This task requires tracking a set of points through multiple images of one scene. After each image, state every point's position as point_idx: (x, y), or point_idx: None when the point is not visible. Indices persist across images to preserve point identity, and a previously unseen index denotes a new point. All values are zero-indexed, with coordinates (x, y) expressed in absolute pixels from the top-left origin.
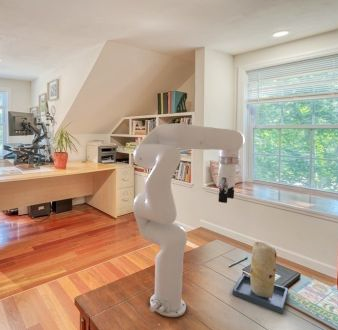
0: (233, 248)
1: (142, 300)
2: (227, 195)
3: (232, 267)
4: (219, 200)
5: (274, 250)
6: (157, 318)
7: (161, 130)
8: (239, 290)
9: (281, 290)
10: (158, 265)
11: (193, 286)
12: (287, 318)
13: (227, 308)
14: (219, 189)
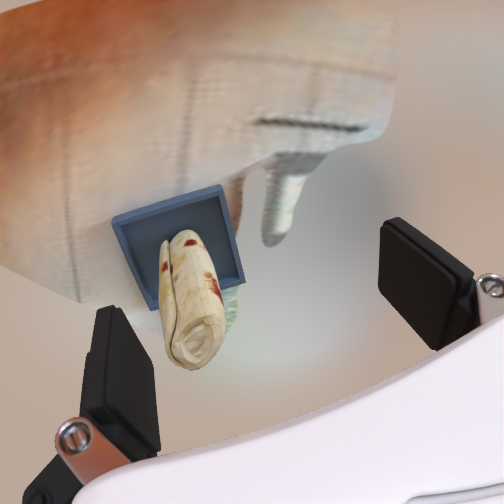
0: (391, 77)
1: None
2: (154, 438)
3: (262, 130)
4: (101, 326)
5: (194, 368)
6: None
7: None
8: (142, 219)
9: (236, 269)
10: None
11: (50, 140)
12: (146, 312)
13: (57, 243)
14: (25, 493)
